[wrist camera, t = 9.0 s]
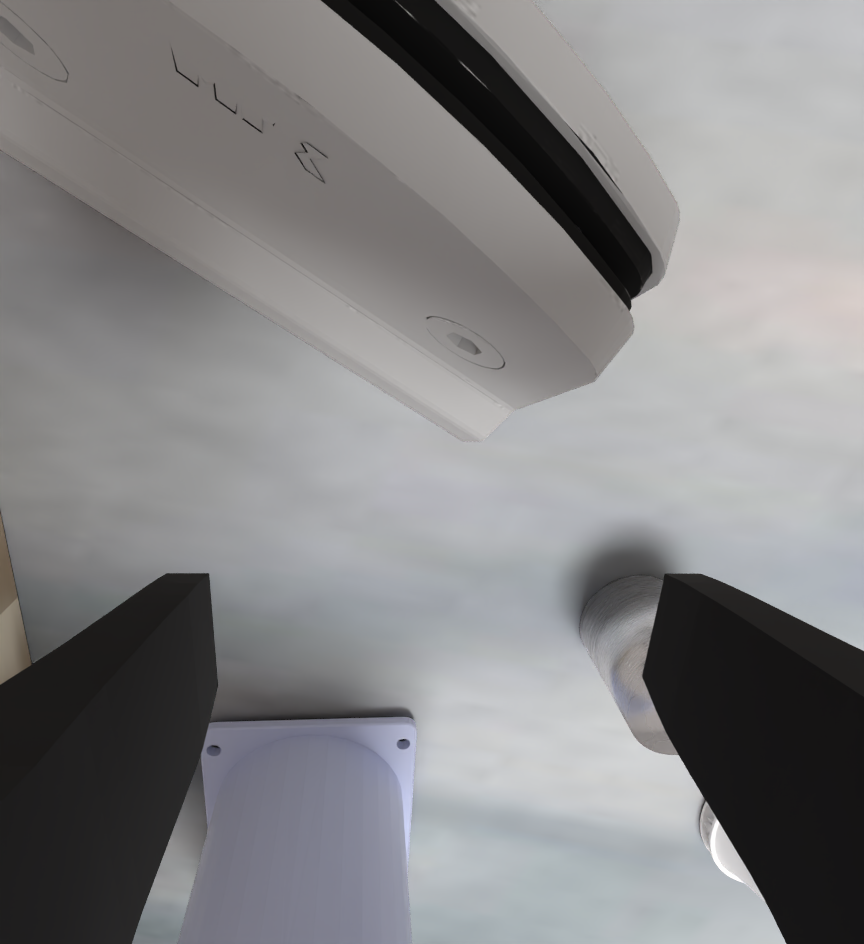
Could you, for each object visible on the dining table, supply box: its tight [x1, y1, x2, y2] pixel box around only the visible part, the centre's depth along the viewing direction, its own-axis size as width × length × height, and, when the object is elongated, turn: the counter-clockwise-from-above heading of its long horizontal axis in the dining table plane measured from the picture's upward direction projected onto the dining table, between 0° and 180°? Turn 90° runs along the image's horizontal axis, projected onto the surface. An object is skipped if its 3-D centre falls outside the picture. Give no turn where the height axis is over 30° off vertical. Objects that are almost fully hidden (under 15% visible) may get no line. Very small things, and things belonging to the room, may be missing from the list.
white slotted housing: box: [0, 0, 680, 442], centre depth 13 cm, size 17×5×10 cm, turn 56°
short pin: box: [580, 575, 678, 755], centre depth 21 cm, size 4×4×4 cm
